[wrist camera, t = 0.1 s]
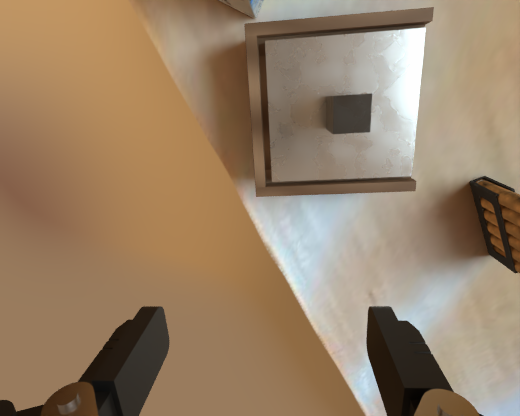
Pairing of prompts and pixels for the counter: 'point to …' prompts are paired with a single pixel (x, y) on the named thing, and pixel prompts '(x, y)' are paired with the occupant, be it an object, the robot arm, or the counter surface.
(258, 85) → the walnut box
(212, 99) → the counter surface
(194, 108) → the counter surface
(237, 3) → the light bulb box
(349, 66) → the cover plate
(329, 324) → the counter surface
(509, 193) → the ammunition clip
